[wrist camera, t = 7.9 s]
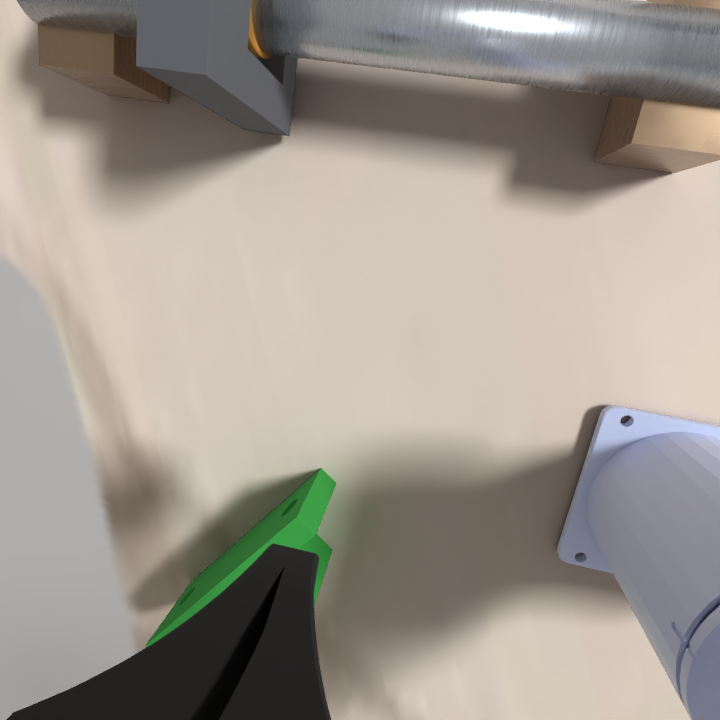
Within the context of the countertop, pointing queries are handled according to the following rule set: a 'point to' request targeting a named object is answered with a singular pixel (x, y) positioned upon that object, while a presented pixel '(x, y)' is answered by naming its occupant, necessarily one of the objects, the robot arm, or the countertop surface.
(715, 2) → the pipe rig
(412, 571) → the countertop surface
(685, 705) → the robot arm
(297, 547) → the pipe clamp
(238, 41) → the collar
